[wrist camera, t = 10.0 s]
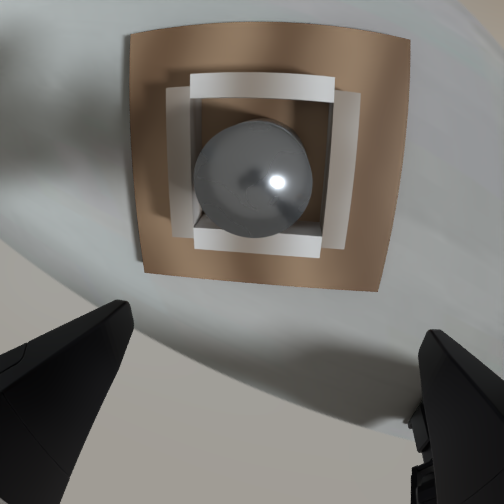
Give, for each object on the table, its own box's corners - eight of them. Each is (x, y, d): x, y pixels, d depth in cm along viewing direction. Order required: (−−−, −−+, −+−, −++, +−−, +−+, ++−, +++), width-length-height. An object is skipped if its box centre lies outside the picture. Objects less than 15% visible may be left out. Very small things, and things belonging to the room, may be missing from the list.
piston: (309, 120, 15) (317, 127, 11) (302, 204, 17) (306, 242, 13) (221, 116, 15) (193, 122, 11) (220, 198, 17) (194, 233, 13)
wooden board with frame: (404, 42, 13) (424, 33, 10) (374, 283, 20) (384, 310, 17) (138, 36, 15) (112, 28, 12) (150, 265, 21) (132, 288, 19)
